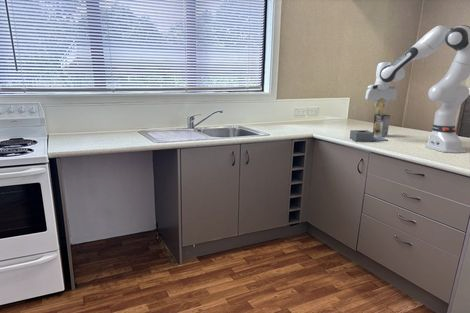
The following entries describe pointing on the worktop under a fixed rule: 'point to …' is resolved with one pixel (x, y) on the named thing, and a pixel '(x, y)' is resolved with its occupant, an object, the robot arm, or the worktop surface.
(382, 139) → the mat
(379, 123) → the coffee box
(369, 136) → the chuck block
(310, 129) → the worktop surface
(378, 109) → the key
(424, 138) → the worktop surface
